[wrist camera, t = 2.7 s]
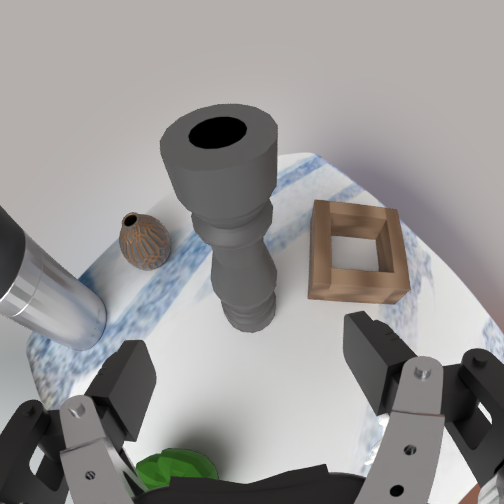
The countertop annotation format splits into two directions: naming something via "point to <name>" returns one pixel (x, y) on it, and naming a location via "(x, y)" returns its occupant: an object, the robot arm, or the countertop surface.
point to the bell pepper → (174, 467)
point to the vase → (144, 241)
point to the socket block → (357, 281)
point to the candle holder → (229, 201)
